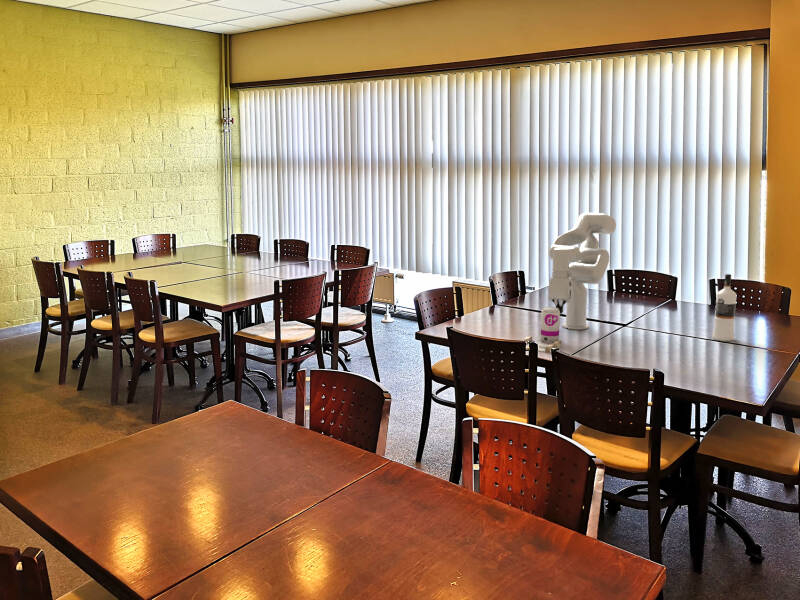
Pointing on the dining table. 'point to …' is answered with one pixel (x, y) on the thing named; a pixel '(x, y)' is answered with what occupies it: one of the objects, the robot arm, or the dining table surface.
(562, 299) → the robot arm
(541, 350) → the rail cradle
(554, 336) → the supplement can
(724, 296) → the vodka
